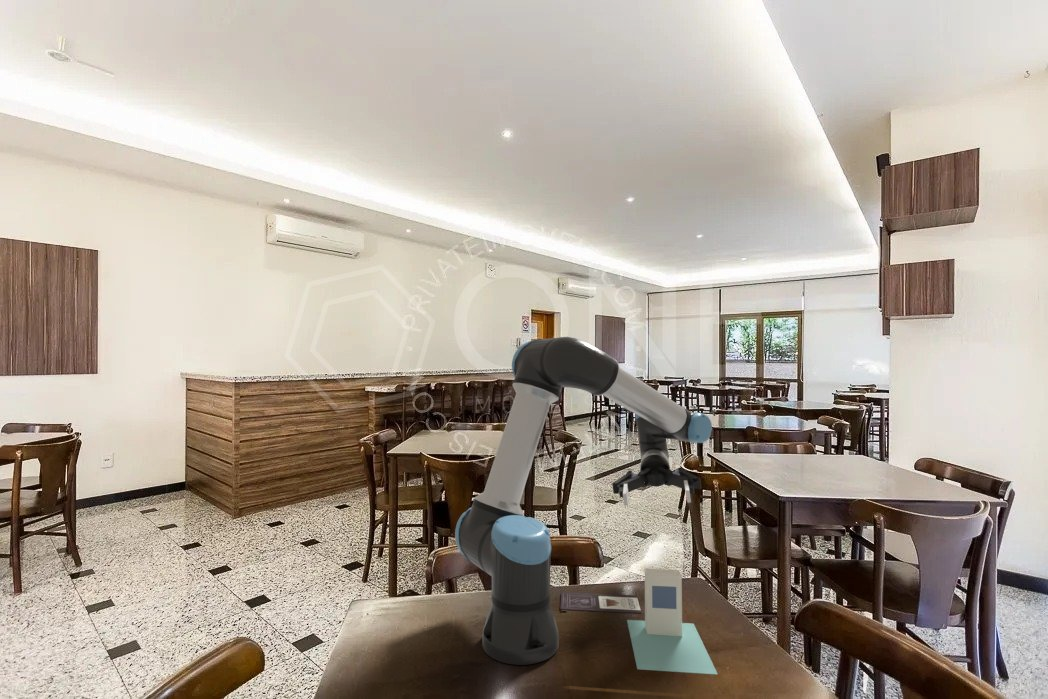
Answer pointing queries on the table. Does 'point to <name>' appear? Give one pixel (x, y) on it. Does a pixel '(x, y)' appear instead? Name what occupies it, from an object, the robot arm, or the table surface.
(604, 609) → the chocolate bar
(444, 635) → the table surface
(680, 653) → the mat
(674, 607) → the card box
